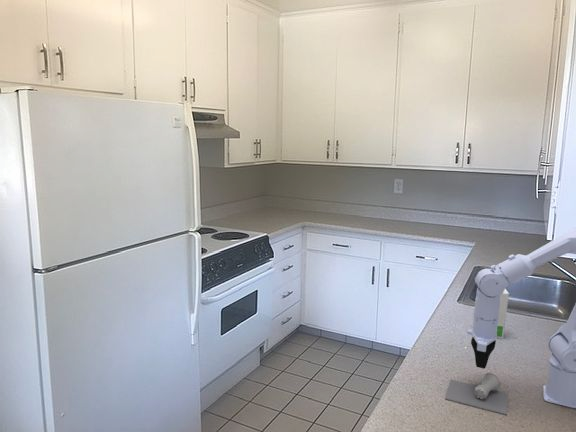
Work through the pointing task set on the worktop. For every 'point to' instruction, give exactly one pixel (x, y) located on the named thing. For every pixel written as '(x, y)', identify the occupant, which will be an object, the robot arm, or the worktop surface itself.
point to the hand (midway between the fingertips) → (480, 366)
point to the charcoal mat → (466, 395)
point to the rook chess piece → (487, 385)
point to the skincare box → (502, 314)
